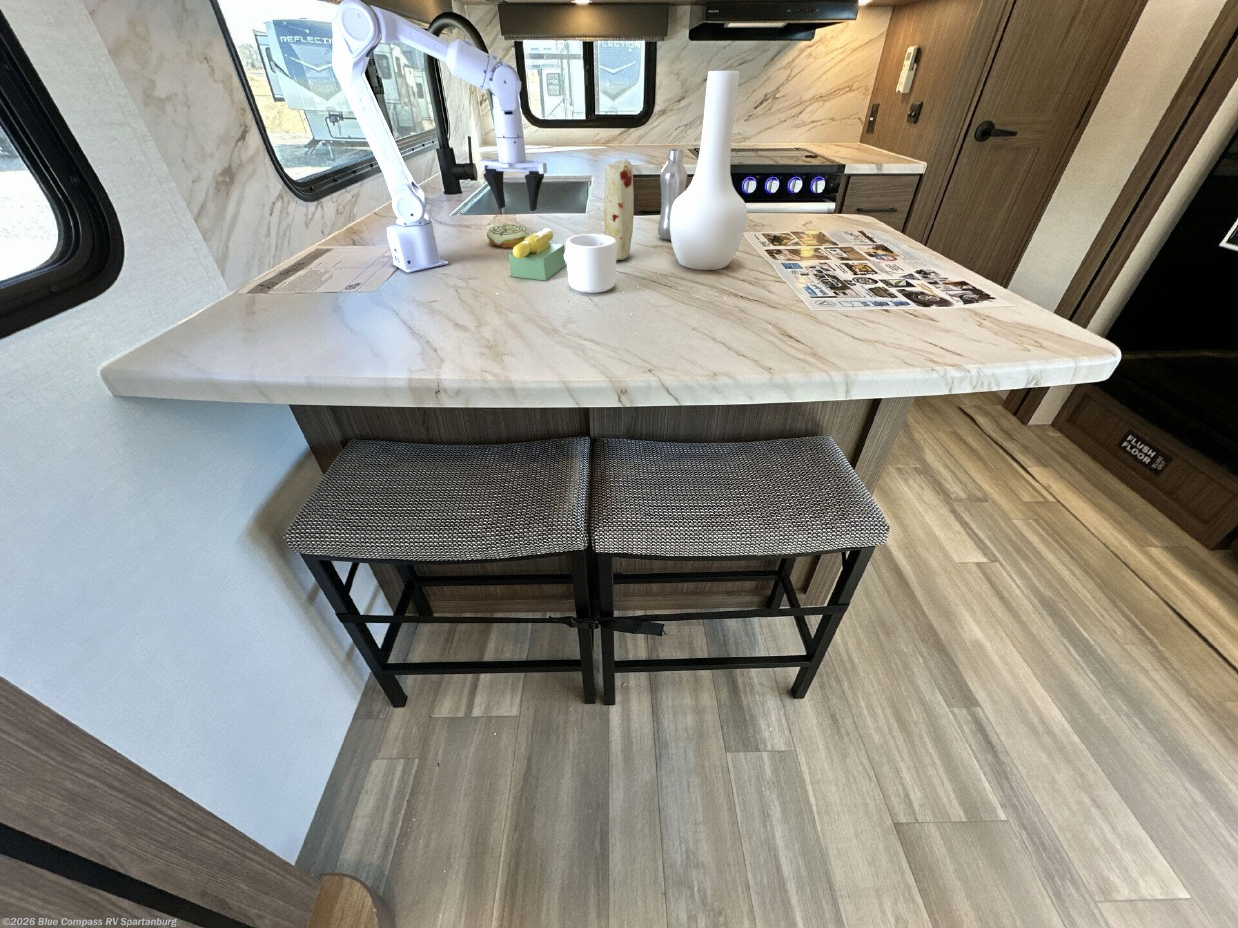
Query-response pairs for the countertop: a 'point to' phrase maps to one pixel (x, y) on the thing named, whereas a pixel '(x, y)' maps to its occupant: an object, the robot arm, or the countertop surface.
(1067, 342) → the countertop surface
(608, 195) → the food model
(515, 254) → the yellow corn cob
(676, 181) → the plastic bottle
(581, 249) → the mug
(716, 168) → the vase
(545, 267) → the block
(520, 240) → the decorated donut
